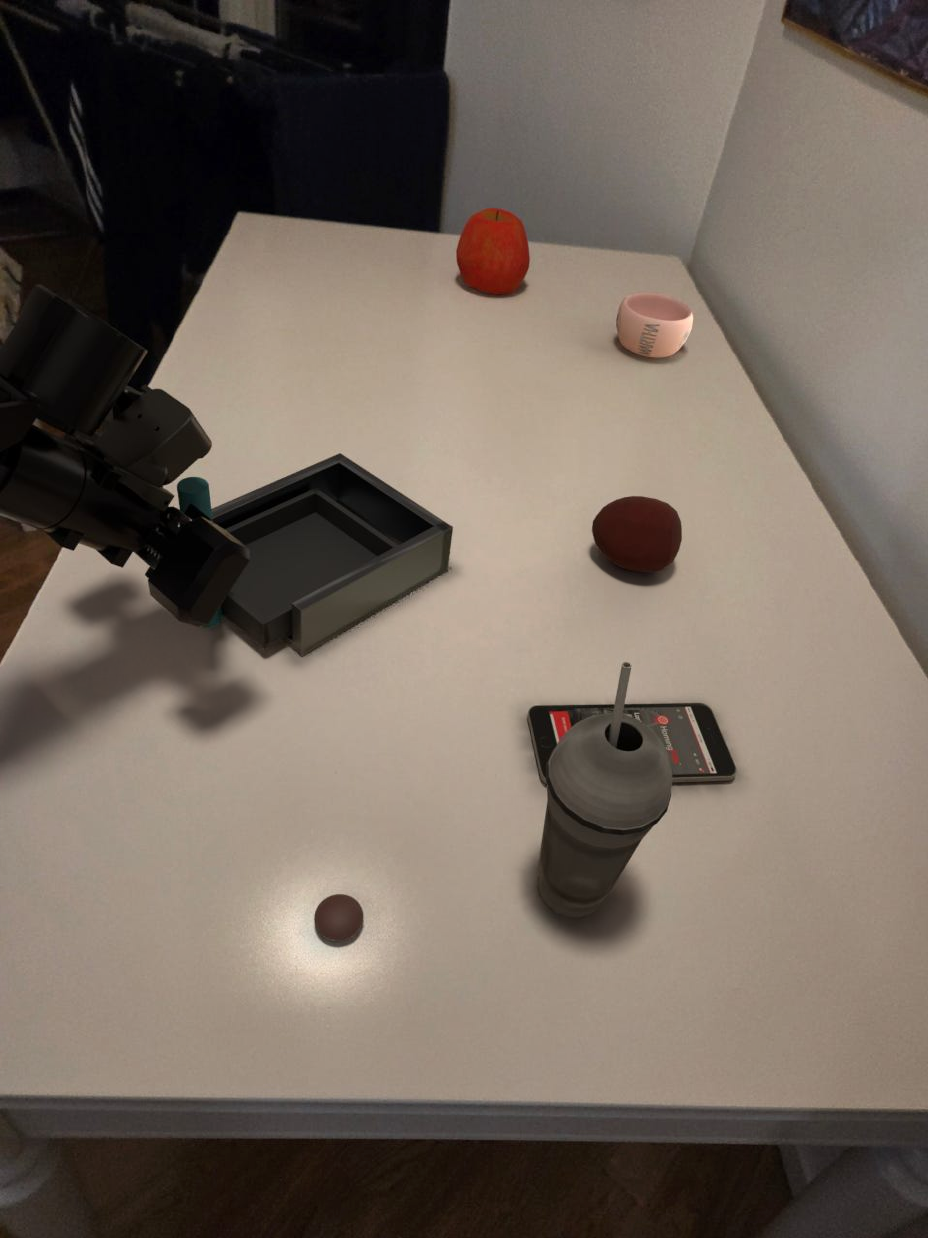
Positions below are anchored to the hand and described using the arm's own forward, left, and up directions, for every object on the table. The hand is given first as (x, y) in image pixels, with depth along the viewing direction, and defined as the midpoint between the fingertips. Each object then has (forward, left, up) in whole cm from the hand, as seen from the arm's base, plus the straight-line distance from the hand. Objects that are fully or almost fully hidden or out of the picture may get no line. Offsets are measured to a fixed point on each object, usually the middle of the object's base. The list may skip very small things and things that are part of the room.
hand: (217, 553), depth 68 cm
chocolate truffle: (+11, -27, -7) cm, 30 cm away
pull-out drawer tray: (+7, +7, -7) cm, 13 cm away
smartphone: (+32, -12, -7) cm, 35 cm away
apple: (+26, +75, -7) cm, 80 cm away
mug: (+47, +59, -7) cm, 76 cm away
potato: (+36, +11, -7) cm, 39 cm away
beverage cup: (+26, -24, -7) cm, 36 cm away
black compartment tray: (+4, +4, -6) cm, 9 cm away
